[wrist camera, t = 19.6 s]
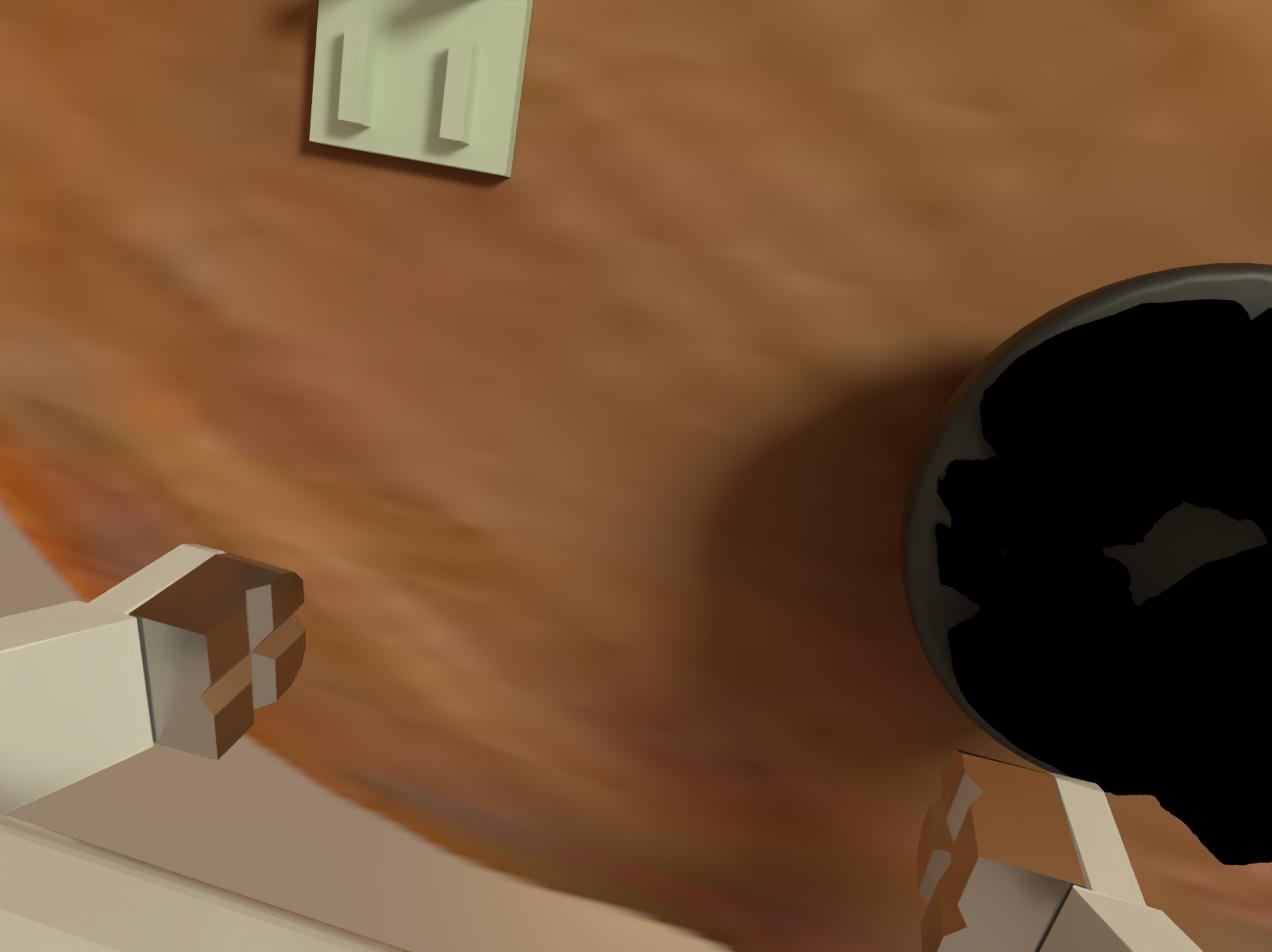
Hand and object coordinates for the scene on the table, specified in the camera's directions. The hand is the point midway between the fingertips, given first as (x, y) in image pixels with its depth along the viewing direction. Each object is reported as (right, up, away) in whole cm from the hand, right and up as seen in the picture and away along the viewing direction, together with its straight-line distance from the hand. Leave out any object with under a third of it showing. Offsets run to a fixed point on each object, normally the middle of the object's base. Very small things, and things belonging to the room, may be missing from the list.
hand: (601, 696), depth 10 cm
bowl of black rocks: (+21, +2, +30) cm, 37 cm away
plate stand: (-9, +23, +27) cm, 36 cm away
